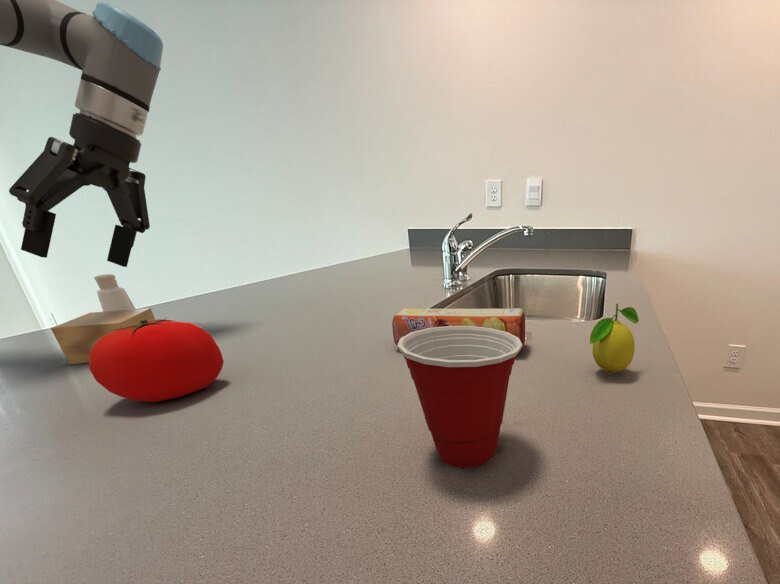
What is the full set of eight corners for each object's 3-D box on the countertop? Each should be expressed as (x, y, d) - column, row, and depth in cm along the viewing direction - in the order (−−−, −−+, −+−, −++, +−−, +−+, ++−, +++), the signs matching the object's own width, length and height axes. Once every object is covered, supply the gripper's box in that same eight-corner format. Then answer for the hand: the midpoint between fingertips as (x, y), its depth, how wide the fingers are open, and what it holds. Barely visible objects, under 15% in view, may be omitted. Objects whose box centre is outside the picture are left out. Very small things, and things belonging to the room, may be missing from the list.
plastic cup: (546, 451, 40) (548, 336, 35) (455, 503, 34) (441, 372, 29) (479, 412, 48) (473, 312, 42) (395, 449, 41) (375, 336, 36)
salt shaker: (103, 338, 76) (74, 278, 71) (131, 329, 81) (106, 272, 76) (128, 338, 75) (101, 278, 70) (155, 329, 80) (131, 272, 75)
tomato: (235, 393, 54) (208, 317, 49) (106, 425, 47) (61, 341, 42) (226, 367, 62) (202, 300, 57) (116, 391, 55) (79, 317, 50)
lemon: (633, 365, 59) (641, 297, 55) (638, 383, 54) (648, 309, 49) (586, 364, 60) (591, 296, 55) (587, 381, 55) (592, 308, 50)
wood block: (69, 364, 64) (50, 328, 61) (105, 345, 72) (89, 312, 69) (136, 358, 66) (119, 322, 63) (164, 340, 74) (150, 308, 71)
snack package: (392, 352, 66) (385, 311, 63) (409, 338, 72) (403, 301, 69) (521, 359, 62) (521, 316, 59) (528, 344, 68) (527, 304, 65)
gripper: (51, 94, 50) (18, 259, 53) (192, 164, 75) (163, 274, 78) (-16, 66, 49) (-46, 236, 52) (149, 146, 74) (122, 259, 77)
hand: (79, 259), depth 65 cm, fingers open, 13 cm apart
